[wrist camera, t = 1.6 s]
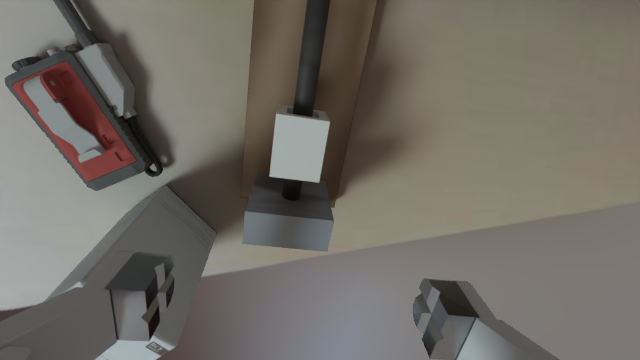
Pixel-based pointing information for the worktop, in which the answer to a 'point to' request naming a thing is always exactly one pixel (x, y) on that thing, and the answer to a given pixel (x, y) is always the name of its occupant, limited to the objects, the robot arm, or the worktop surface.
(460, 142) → the worktop surface
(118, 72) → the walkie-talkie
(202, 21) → the worktop surface
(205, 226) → the skincare box
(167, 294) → the robot arm
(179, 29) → the worktop surface
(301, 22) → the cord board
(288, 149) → the sleeve
